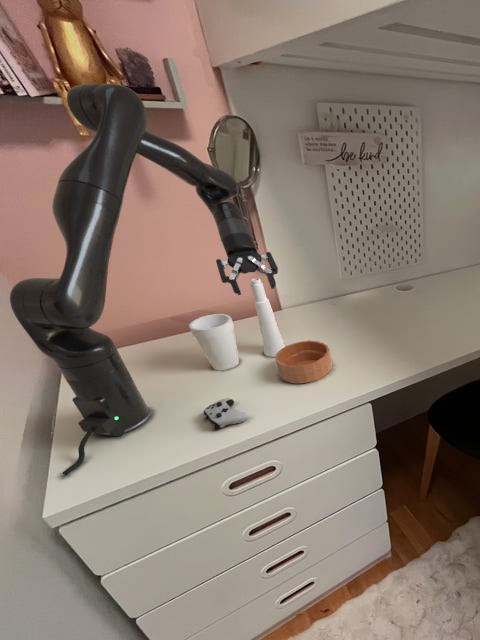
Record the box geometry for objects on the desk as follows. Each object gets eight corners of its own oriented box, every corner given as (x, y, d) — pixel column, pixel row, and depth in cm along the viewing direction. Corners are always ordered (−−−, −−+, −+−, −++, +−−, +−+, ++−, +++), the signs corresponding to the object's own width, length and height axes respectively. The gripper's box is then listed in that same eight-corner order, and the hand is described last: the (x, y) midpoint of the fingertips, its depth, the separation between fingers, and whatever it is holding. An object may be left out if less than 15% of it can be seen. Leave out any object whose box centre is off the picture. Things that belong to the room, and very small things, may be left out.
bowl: (319, 386, 102) (315, 368, 99) (270, 382, 103) (264, 364, 100) (339, 359, 113) (336, 342, 110) (295, 356, 114) (290, 339, 111)
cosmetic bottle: (263, 349, 117) (241, 278, 105) (285, 344, 119) (266, 274, 108) (266, 359, 112) (243, 285, 101) (289, 353, 115) (269, 281, 104)
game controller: (251, 416, 90) (225, 410, 85) (238, 437, 90) (211, 432, 85) (233, 398, 96) (208, 391, 91) (221, 417, 95) (195, 412, 90)
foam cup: (249, 365, 109) (235, 323, 103) (211, 377, 104) (193, 333, 97) (239, 351, 115) (225, 310, 108) (202, 362, 110) (185, 320, 103)
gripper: (205, 235, 105) (226, 290, 104) (263, 228, 113) (284, 279, 111) (209, 250, 112) (229, 302, 110) (264, 242, 119) (283, 291, 117)
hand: (256, 290), depth 110 cm, fingers open, 8 cm apart
